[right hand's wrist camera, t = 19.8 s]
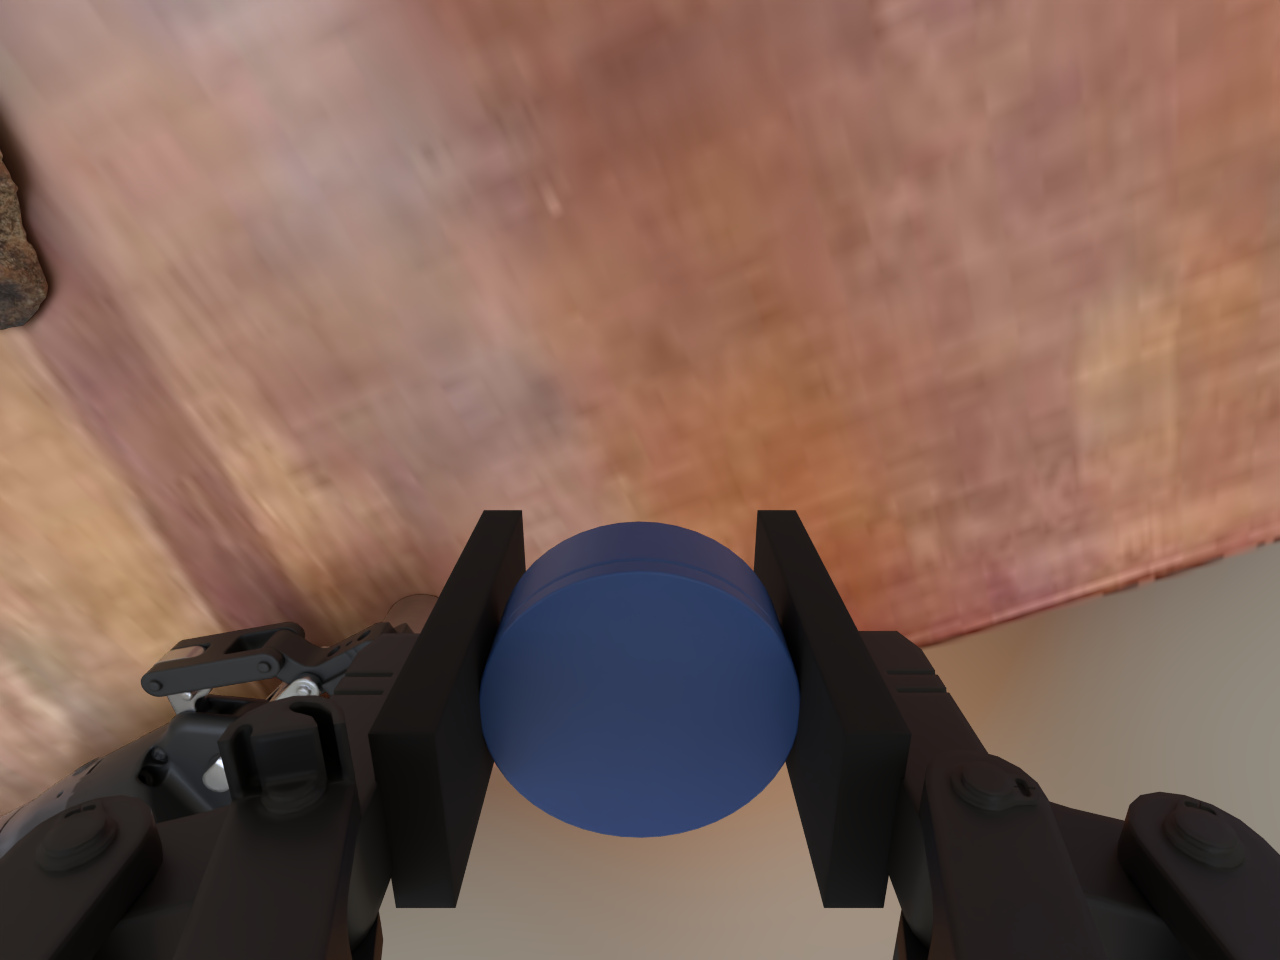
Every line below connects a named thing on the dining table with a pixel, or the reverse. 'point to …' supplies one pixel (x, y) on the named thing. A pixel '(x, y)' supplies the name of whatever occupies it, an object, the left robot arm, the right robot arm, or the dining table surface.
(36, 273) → the rock
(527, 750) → the lid
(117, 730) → the dining table surface
